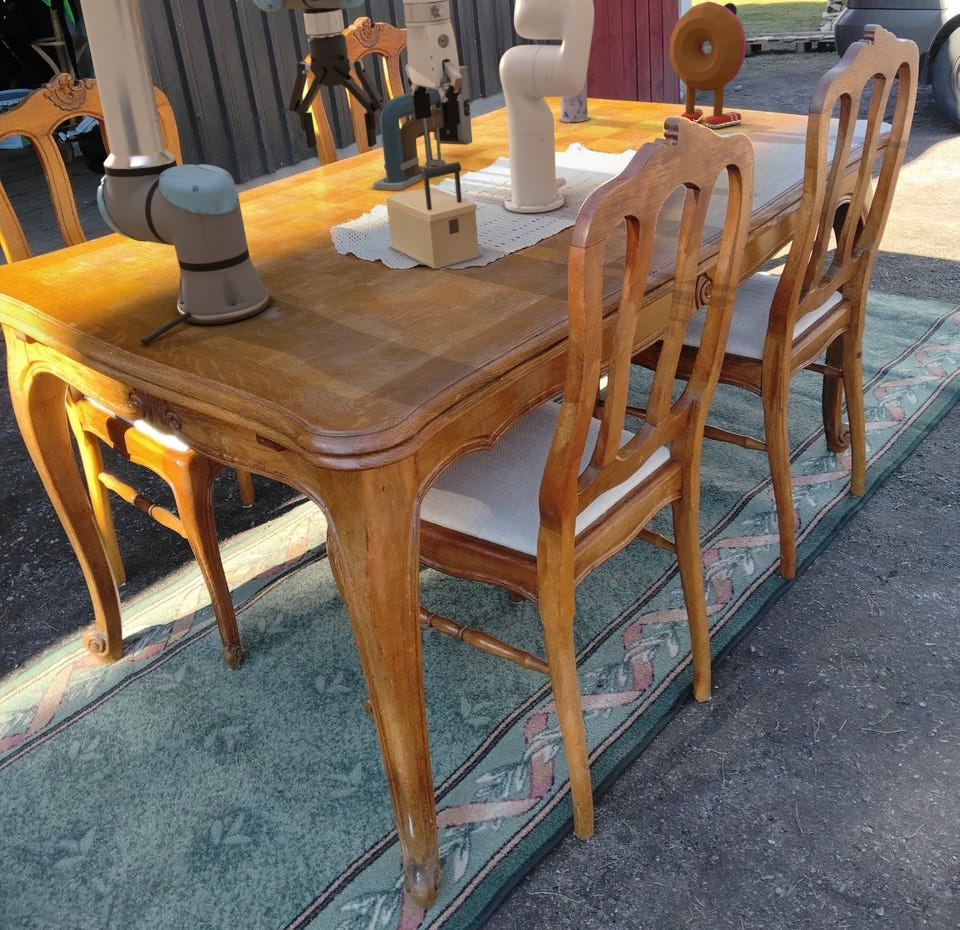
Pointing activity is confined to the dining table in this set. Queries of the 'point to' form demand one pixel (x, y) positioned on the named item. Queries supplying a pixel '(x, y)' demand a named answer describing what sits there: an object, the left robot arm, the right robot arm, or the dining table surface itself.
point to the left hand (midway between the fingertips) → (342, 145)
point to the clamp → (403, 141)
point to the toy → (708, 56)
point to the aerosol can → (575, 107)
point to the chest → (434, 237)
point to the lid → (434, 197)
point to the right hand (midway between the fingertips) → (437, 121)
